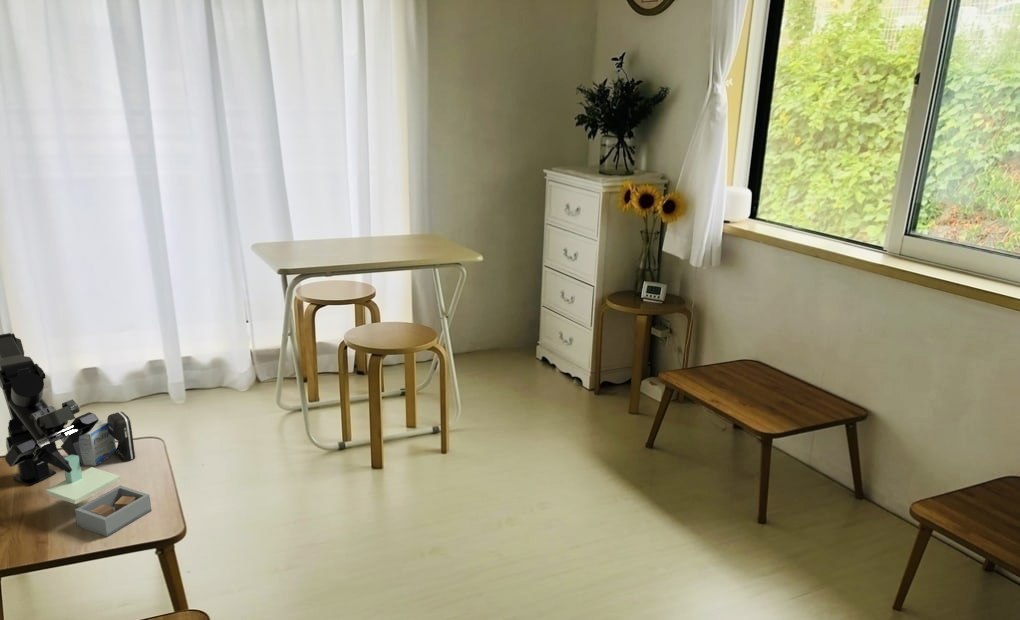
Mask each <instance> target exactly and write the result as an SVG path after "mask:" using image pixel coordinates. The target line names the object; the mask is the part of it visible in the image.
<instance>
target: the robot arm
mask: <svg viewBox="0 0 1020 620" xmlns="http://www.w3.org/2000/svg"><path fill="white" fill-rule="evenodd" d="M45 379H46V373H45V371H44V370H43V368H42V367H41V366H39V364H38V363H35V362H34V360H33V359H32V357H30V356H25V351H24V346H23V344H22V339H20V338H17V337H16V336H15V333H11V332H8V333H1V334H0V389H1V390H2V393H3V396H4V400H5V402H6V406H7V409H8V412H9V415H10V420H9V421H8V426H7V434H8V436H7V437H5V438H6V439H5V445H6V446H5V447H6V450H7V452H6V454H5V455H4V456H5V457H4V459H5V462H6V464H7V465H8V466H9V467H10V468H12V467H14V466H16V465H17V469H18V474H17V475H16V476H13V477H12V479H13V480H12V481H16V482H19V483H20V484H21V483H22V484H25V485H27V486H33V485H35V484H38V483H40V482H41V481H43V480H45V479H48V478H49V477H51V476H53V475H56V473H57V471H56V470H54V469H50V467H49V465H52V466H54V467H56V468H58V469H60V470H62V471H63V472H64V471H66V472H68V473H70V472H71V471H72V469H71V467H70V465H69V464H68V463H67V461H66V460H65V459H64V458H65V457H64V456H63V455H62V453H60V451H59V450H58V448H57V443H56V441H59V440H60V441H61V442H62V444H61V445H60V448H61V449H62V450H63V451H64V452H65V453H66V455H67V456H69V455H71V454H74V455H77V456H79V462H80V467H81V468H82V467H83V466H84V463H83V459H82V455H81V451H80V447H79V436H82V435H84V434H86V433H88V432H89V431H91V429H92V428H93V427H94V426H95V424H96V423H97V422H98V421H99V420H100V419H99V417H98V416H97V415H96V414H95V413H93V412H89V411H88V412H86V413H84V414H82V415H79V416H77V417H76V416H75V414H78V413H80V407H79V405H78V403H76V401H75V400H74V399H73V398H72V399H70V400H67V401H65V402H63V403H61V408H58V409H57V408H56V407H55V406H53V405H51V406H49V405H48V404H47V403H46V401H45V400H44V399H43V395H44V388H45V383H44V380H45ZM69 421H72V422H71V423H70V425H68V423H69ZM66 425H68V426H66Z"/></svg>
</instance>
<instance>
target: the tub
mask: <svg viewBox="0 0 1020 620" xmlns="http://www.w3.org/2000/svg"><path fill="white" fill-rule="evenodd" d="M122 496H127V497H136V500H135V501H133V502H132V503H130V504H128V505H126V506H125V507H123V508H121V509H119V510H118V511H116V510H115V503H116V502H117V501H118V500H119V499H120V498H121V497H122ZM101 505H106V506H109V507H112V508H113V512H114V513H112V514H110V515H109V516H107V517H103V516H101V515H98V514H95V513H92V512H90V511H92V510H94V509H95V508H97V507H99V506H101ZM152 510H153V509H152V504H151V497H150V494H149V493H145V492H143V491H138V490H136V489H133V488H129V487H127V486H123V485H118V486H116V487H115V488H113V489H111V490H109V491H107V492H106V493H104V494H102V495H100V496H98V497H95V498H94V499H92V500H91V501H88V502H86V503H84V504H83V505H81V506H79V507H77V508H75V509H74V512H75V519H76V523H77V524H76V525H77V527H79V528H81V529H85V530H87V531H90V532H93V533H95V534H98V535H101V536H103V537H106V536H107V537H106V538H108V537H110V536H111V535H113V534H115V533H116V532H119V531H120V530H122V529H123V528H125V527H127V526H128V525H130V524H132V523H134V522H136V521H137V520H138V519H140V518H142V517H144V516H145V515H148V514H149V513H150V512H152ZM109 535H110V536H109Z"/></svg>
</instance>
